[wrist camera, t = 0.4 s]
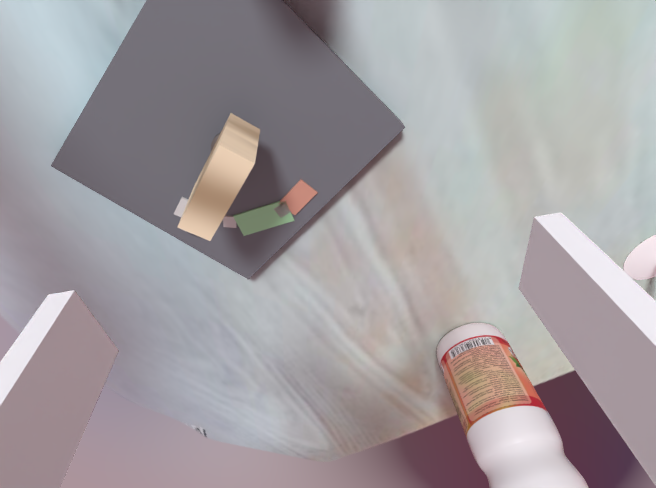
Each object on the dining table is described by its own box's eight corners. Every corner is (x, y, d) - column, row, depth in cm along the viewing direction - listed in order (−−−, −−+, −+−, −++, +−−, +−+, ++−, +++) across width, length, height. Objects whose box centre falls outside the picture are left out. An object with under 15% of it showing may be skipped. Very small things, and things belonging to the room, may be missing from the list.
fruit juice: (456, 314, 50) (594, 607, 28) (516, 327, 52) (686, 604, 30) (422, 359, 55) (515, 637, 33) (478, 368, 58) (599, 632, 35)
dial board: (59, 158, 33) (49, 166, 32) (200, -84, 25) (196, -87, 24) (249, 270, 43) (248, 280, 41) (400, 121, 34) (405, 128, 33)
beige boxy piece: (231, 102, 30) (216, 143, 24) (264, 120, 31) (257, 164, 25) (173, 219, 36) (148, 278, 29) (202, 231, 37) (184, 291, 30)
